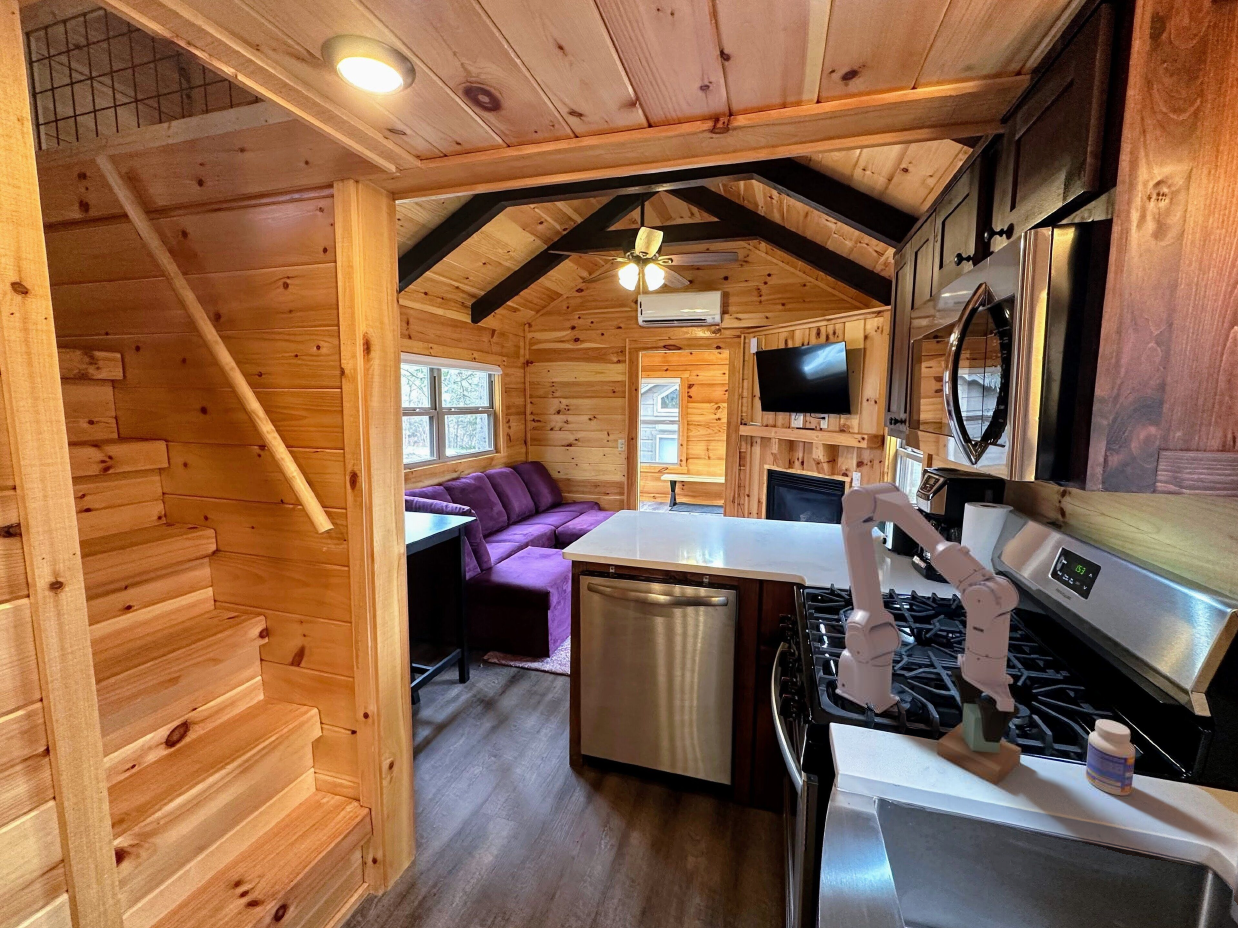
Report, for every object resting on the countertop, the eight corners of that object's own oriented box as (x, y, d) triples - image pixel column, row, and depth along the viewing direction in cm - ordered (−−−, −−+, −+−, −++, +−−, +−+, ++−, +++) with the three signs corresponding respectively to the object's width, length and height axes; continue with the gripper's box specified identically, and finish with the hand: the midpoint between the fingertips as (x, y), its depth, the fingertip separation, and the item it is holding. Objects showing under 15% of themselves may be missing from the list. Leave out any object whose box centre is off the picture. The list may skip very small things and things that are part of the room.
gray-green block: (972, 750, 89) (974, 716, 88) (961, 735, 93) (963, 703, 92) (999, 753, 88) (1001, 719, 87) (987, 737, 92) (989, 705, 91)
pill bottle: (1133, 801, 80) (1140, 742, 79) (1086, 786, 84) (1092, 729, 82) (1128, 780, 85) (1134, 723, 83) (1083, 767, 88) (1088, 712, 87)
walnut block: (936, 756, 92) (937, 740, 91) (961, 737, 97) (962, 721, 96) (996, 787, 84) (998, 770, 84) (1019, 764, 90) (1021, 748, 89)
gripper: (1039, 674, 80) (1031, 757, 82) (990, 632, 95) (985, 703, 96) (987, 670, 82) (981, 752, 83) (946, 629, 96) (942, 700, 98)
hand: (980, 726), depth 90 cm, fingers open, 7 cm apart
